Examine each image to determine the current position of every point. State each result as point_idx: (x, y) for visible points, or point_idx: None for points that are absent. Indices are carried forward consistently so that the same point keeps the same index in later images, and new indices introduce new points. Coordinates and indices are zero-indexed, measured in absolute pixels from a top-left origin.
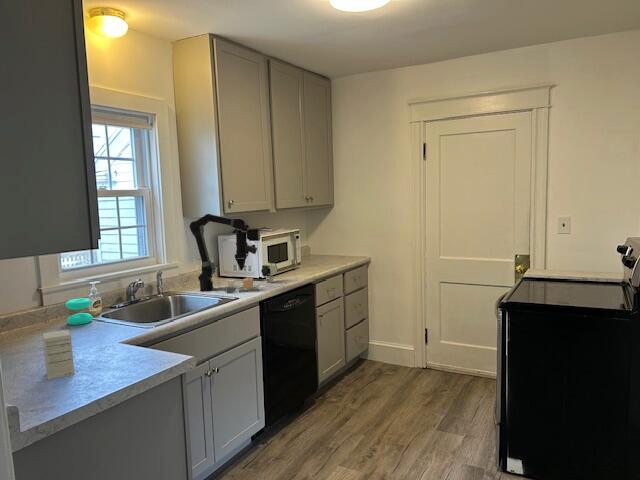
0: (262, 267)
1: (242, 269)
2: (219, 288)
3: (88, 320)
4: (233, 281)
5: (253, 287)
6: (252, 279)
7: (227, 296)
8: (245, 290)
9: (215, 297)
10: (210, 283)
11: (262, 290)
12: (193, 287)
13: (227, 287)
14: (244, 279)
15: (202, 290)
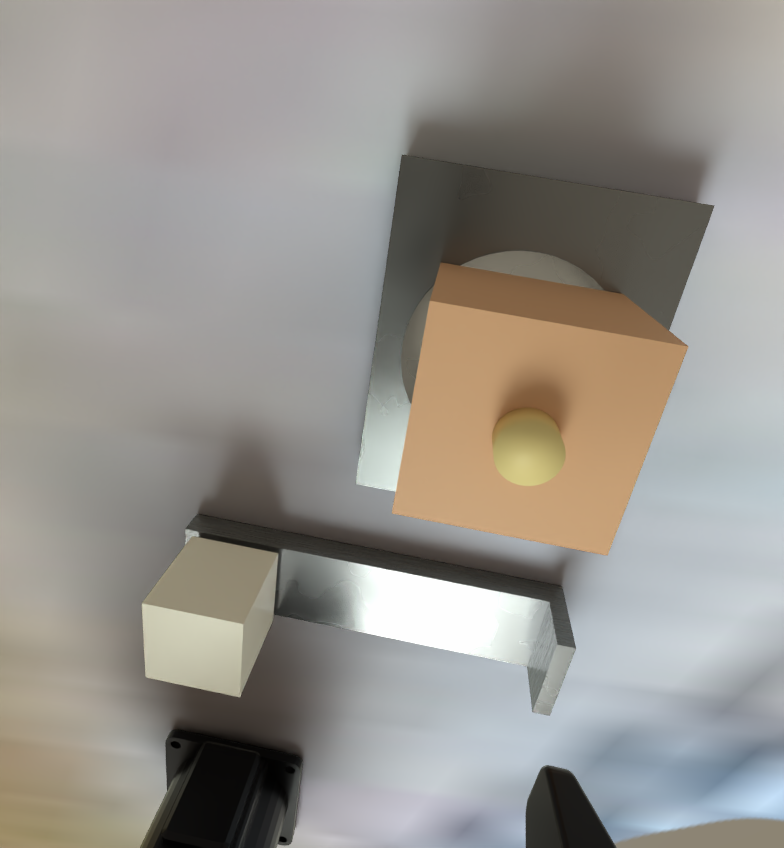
0: None
1: (579, 796)
2: None
3: None
4: (247, 616)
5: (488, 262)
6: (592, 328)
7: (778, 670)
8: None
9: (734, 776)
10: (242, 843)
11: (658, 76)
12: (50, 839)
13: (541, 701)
14: (503, 512)
15: (294, 828)
